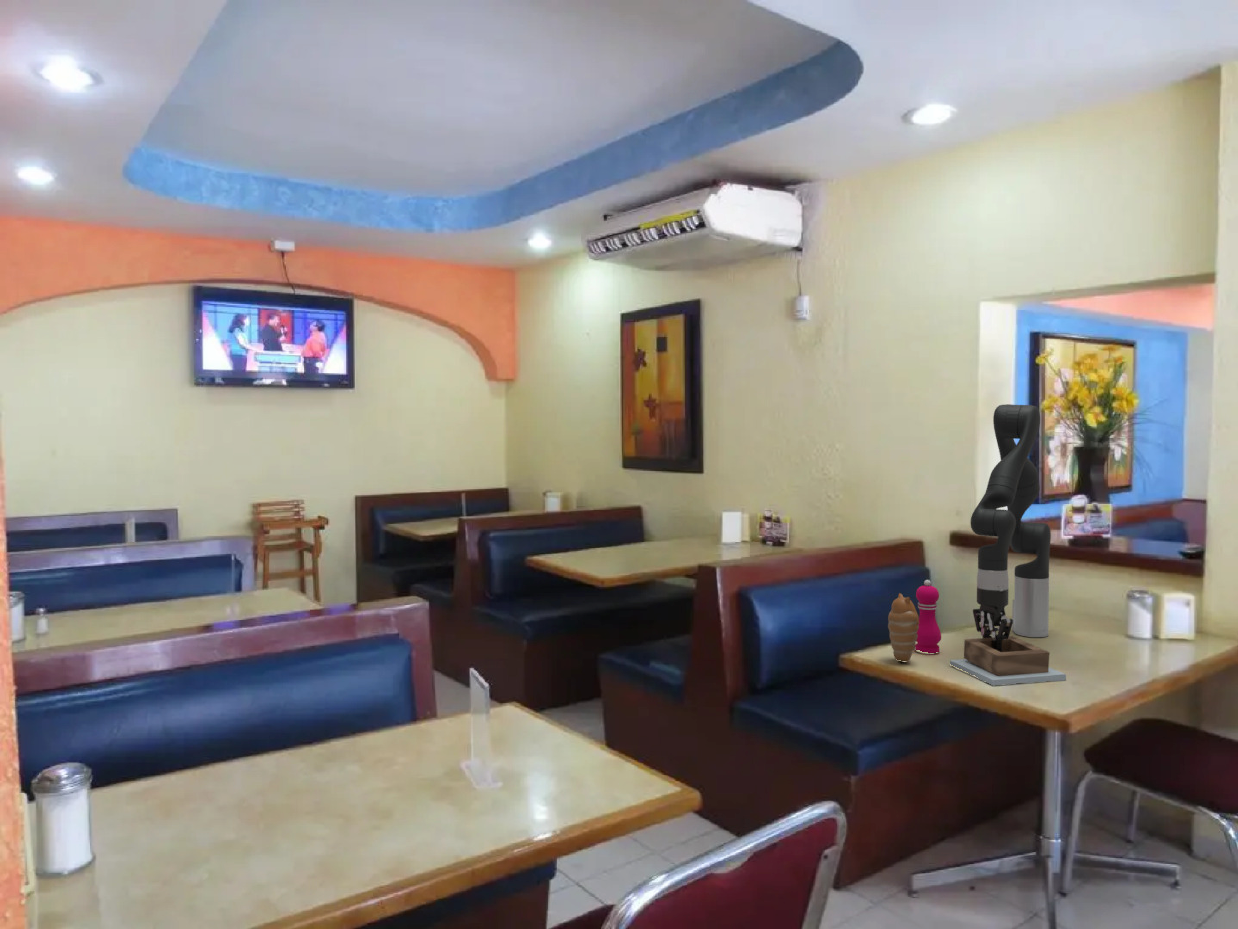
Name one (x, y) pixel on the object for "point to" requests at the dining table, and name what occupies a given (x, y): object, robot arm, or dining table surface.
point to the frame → (1006, 656)
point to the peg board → (1010, 679)
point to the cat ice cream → (903, 627)
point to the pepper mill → (927, 619)
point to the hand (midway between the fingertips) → (992, 651)
